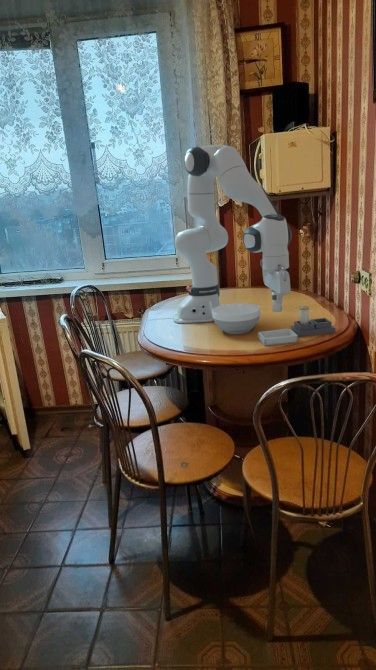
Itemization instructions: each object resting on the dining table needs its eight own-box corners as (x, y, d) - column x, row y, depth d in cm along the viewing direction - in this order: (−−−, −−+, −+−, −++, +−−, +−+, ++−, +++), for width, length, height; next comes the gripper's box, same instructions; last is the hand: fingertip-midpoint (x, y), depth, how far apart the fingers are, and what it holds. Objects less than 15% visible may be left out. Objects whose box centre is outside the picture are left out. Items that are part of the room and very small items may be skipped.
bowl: (213, 325, 195) (211, 304, 192) (258, 321, 194) (257, 301, 191) (213, 339, 177) (212, 316, 174) (263, 335, 176) (263, 313, 173)
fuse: (301, 329, 172) (301, 308, 170) (298, 326, 176) (297, 306, 173) (310, 328, 173) (310, 307, 170) (307, 325, 176) (307, 305, 174)
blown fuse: (273, 312, 164) (272, 290, 162) (271, 310, 167) (270, 288, 165) (283, 311, 164) (282, 289, 162) (281, 309, 167) (280, 287, 165)
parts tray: (264, 346, 164) (264, 339, 164) (258, 338, 173) (258, 332, 172) (298, 342, 165) (297, 335, 165) (289, 334, 174) (289, 328, 173)
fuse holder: (298, 337, 171) (298, 326, 170) (291, 330, 178) (290, 320, 177) (335, 332, 172) (335, 322, 171) (326, 326, 180) (326, 316, 178)
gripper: (294, 266, 151) (295, 307, 155) (276, 258, 171) (277, 295, 175) (275, 268, 151) (277, 310, 155) (259, 260, 170) (260, 297, 174)
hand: (277, 302), depth 165 cm, fingers closed on blown fuse, 3 cm apart
